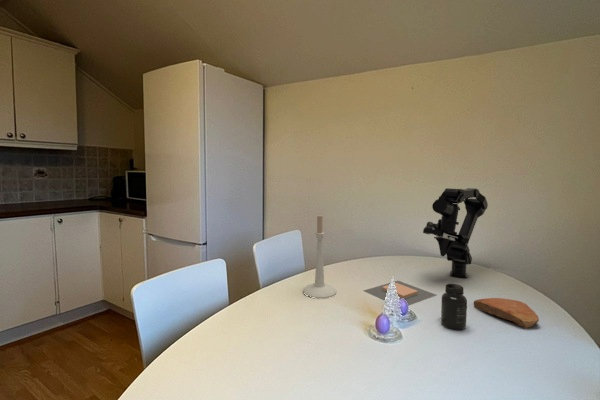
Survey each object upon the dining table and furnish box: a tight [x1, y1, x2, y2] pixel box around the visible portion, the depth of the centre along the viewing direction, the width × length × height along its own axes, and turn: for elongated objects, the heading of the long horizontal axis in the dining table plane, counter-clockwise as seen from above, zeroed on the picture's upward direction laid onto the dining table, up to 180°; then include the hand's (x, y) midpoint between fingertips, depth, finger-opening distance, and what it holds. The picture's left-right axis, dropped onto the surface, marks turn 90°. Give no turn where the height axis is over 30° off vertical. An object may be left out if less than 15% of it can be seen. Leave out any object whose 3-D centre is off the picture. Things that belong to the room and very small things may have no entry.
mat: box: [362, 280, 438, 307], centre depth 117 cm, size 20×18×1 cm
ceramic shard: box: [473, 297, 540, 329], centre depth 99 cm, size 15×6×15 cm
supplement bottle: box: [440, 283, 468, 331], centre depth 93 cm, size 7×7×12 cm
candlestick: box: [302, 214, 337, 299], centre depth 118 cm, size 13×13×30 cm
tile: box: [382, 283, 418, 299], centre depth 117 cm, size 2×10×8 cm
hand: (442, 256), depth 126 cm, fingers closed
